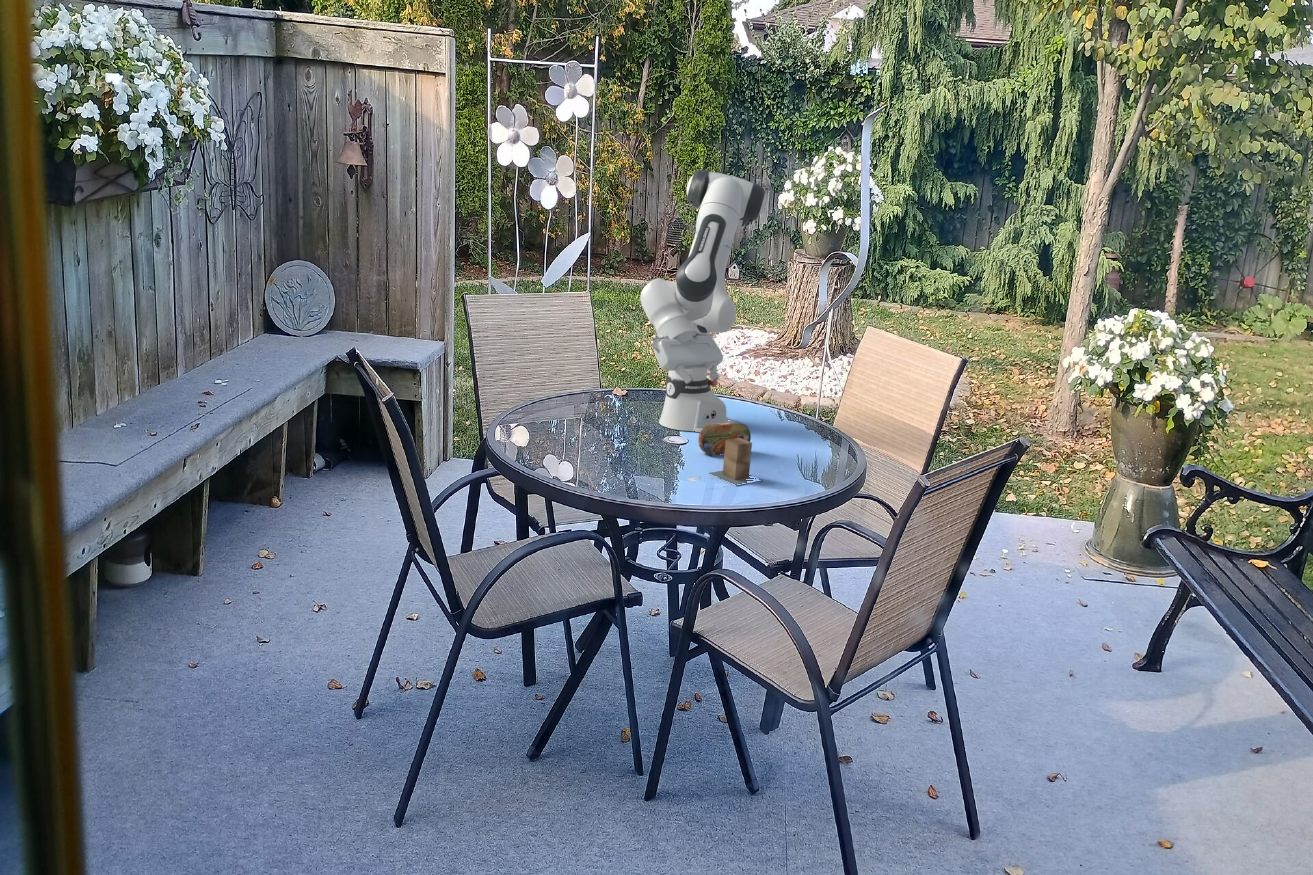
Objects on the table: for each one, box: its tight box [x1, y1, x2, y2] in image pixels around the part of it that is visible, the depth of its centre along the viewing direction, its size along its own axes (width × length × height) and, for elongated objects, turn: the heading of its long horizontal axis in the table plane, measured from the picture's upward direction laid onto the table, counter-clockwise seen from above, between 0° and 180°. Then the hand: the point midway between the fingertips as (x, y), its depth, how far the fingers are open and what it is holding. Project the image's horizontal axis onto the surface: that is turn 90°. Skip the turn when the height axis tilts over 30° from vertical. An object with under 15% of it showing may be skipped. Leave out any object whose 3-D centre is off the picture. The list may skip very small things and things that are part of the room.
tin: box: [698, 421, 752, 456], centre depth 294 cm, size 15×3×8 cm, turn 117°
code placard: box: [686, 476, 701, 482], centre depth 269 cm, size 7×9×1 cm
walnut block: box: [722, 438, 753, 480], centre depth 273 cm, size 5×5×9 cm
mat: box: [708, 470, 756, 485], centre depth 274 cm, size 9×10×1 cm
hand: (703, 380), depth 274 cm, fingers open, 8 cm apart
